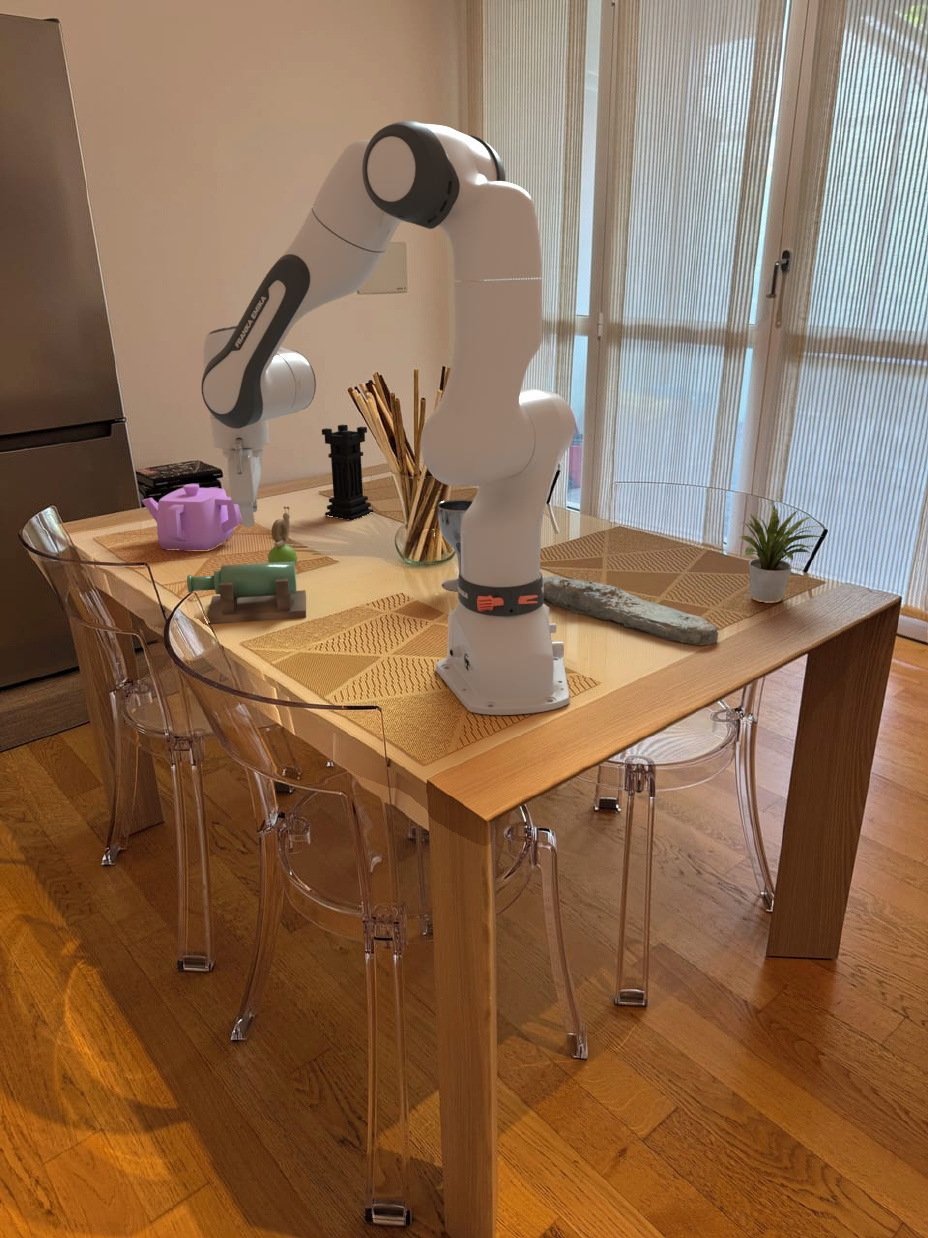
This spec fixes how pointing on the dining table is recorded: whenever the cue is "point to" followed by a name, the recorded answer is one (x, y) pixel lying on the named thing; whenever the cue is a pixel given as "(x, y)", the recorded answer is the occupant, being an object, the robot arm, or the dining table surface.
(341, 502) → the chess piece
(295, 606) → the u-rest
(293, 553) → the snail figurine
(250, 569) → the bottle
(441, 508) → the wine glass
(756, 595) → the house plant
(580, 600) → the long grey stone
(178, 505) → the teakettle
